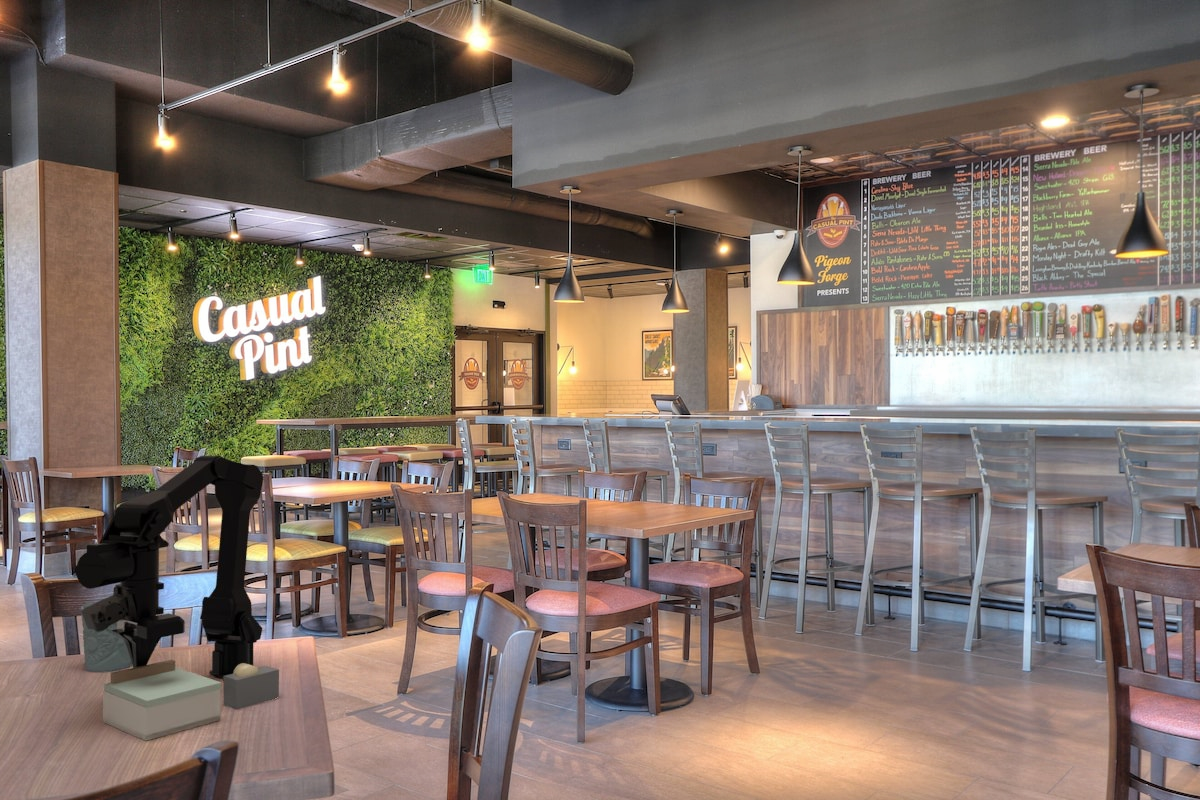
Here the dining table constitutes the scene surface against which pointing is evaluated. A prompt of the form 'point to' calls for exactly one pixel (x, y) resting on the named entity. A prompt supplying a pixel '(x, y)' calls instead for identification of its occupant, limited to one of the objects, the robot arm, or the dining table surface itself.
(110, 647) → the grey-green cup
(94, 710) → the dining table surface
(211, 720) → the box
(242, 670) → the tape dispenser
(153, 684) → the lid
